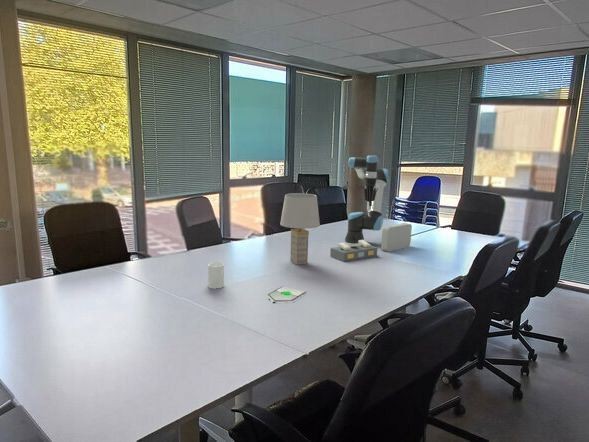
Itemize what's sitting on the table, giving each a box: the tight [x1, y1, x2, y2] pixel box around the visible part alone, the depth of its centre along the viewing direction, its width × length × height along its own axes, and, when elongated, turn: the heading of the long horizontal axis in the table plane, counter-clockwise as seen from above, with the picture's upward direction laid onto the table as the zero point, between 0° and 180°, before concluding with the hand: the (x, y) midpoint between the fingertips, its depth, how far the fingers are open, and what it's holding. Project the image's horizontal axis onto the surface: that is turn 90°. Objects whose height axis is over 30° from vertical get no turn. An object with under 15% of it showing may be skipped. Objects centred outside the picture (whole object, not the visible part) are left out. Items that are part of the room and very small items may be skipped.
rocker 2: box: [348, 243, 361, 247], centre depth 282 cm, size 8×4×2 cm, turn 33°
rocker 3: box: [358, 239, 371, 248], centre depth 287 cm, size 8×4×2 cm, turn 33°
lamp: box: [279, 192, 321, 265], centre depth 262 cm, size 25×25×44 cm
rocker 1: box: [337, 242, 350, 250], centre depth 278 cm, size 8×4×2 cm, turn 33°
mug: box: [207, 261, 225, 290], centre depth 218 cm, size 12×8×12 cm
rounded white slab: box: [380, 222, 412, 253], centre depth 308 cm, size 29×8×18 cm, turn 129°
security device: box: [265, 285, 308, 302], centre depth 205 cm, size 17×22×2 cm
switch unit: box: [329, 244, 378, 263], centre depth 283 cm, size 15×30×7 cm, turn 123°
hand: (368, 210), depth 297 cm, fingers closed
